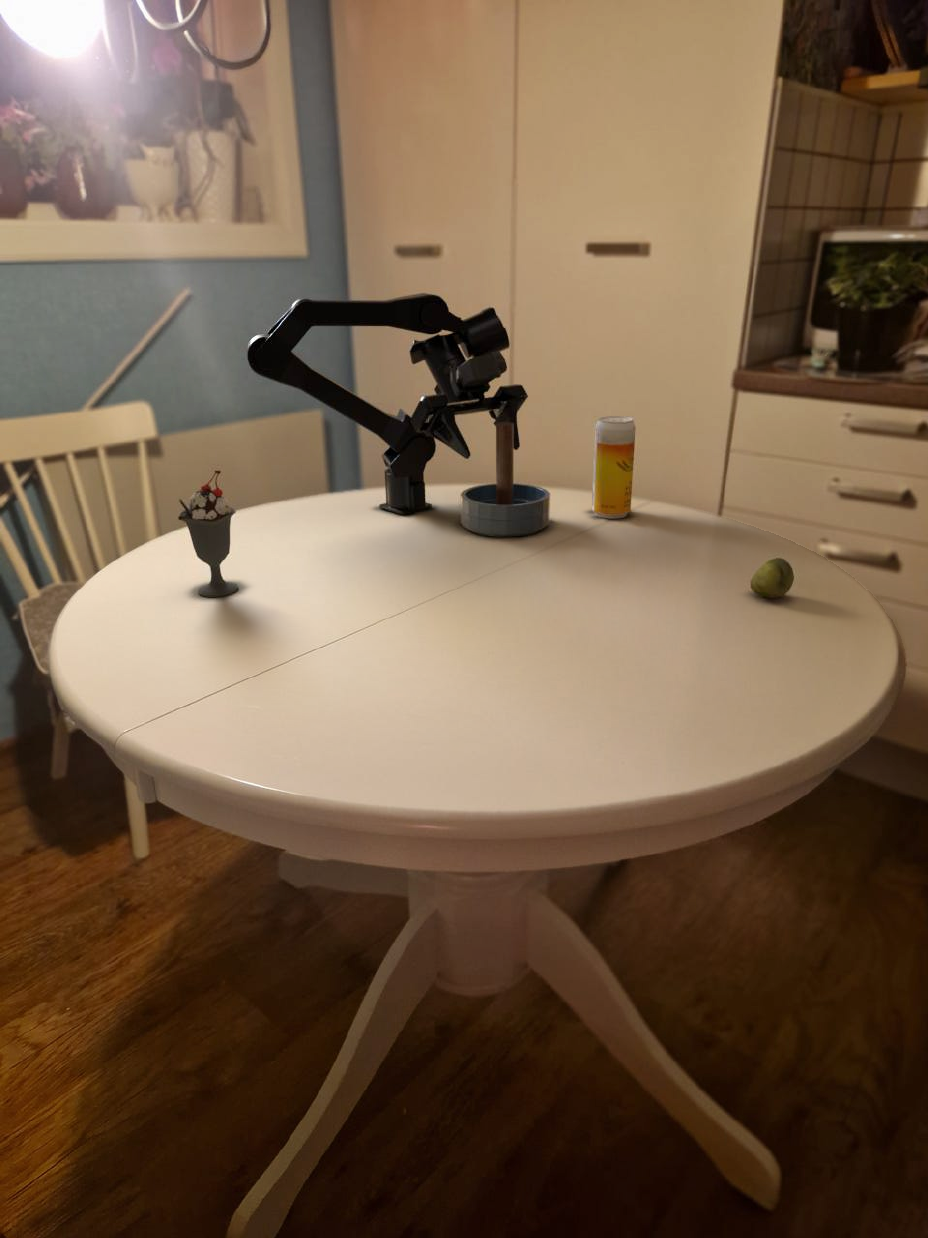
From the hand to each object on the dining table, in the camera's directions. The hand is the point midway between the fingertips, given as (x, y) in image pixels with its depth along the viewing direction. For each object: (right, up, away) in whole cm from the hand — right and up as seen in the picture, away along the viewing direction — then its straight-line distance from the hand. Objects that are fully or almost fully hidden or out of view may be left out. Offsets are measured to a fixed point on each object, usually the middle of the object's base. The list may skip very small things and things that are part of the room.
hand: (493, 452), depth 130 cm
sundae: (-36, -22, -21) cm, 47 cm away
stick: (+2, -10, +2) cm, 11 cm away
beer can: (+19, -9, +7) cm, 22 cm away
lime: (+32, -23, -27) cm, 48 cm away
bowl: (+2, -11, +2) cm, 11 cm away
